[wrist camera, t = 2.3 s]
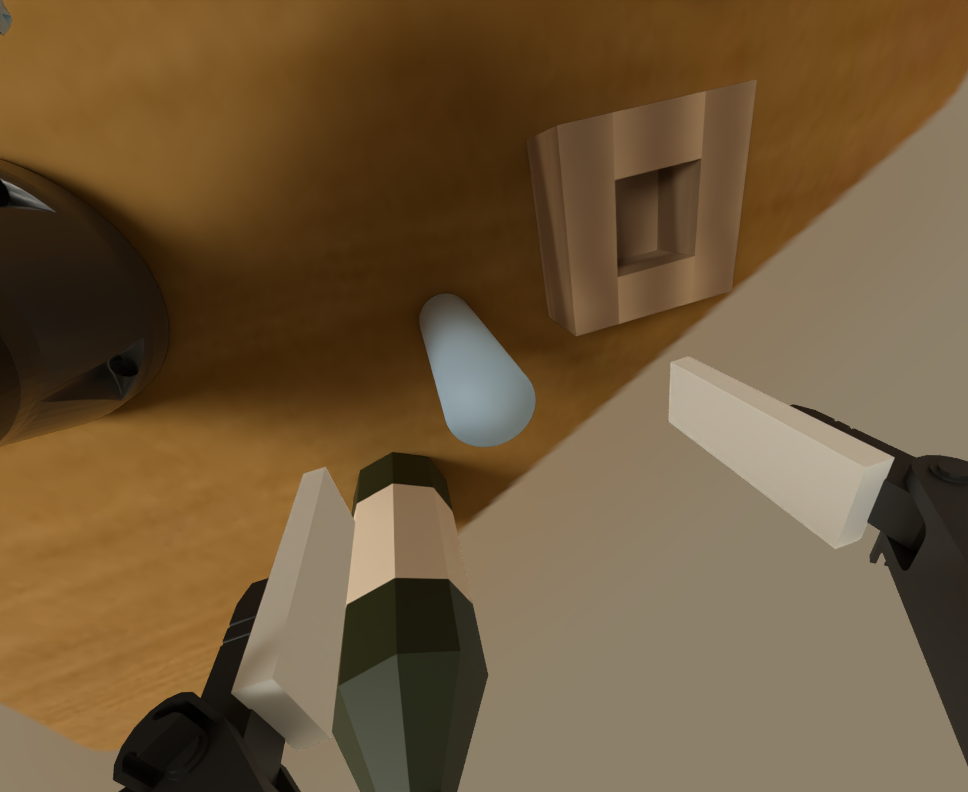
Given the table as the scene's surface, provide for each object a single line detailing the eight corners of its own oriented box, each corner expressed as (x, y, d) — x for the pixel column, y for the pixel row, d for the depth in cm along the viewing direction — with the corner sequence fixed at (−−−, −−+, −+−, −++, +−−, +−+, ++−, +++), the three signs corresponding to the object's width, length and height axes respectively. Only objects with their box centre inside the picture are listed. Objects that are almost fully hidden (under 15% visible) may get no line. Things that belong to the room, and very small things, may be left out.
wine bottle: (342, 461, 31) (121, 1715, 5) (440, 443, 33) (648, 1360, 7) (363, 532, 35) (299, 1456, 9) (450, 513, 37) (609, 1265, 11)
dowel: (427, 351, 29) (457, 458, 17) (412, 301, 27) (433, 380, 15) (476, 337, 29) (541, 431, 17) (465, 287, 27) (528, 352, 15)
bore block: (548, 317, 30) (576, 336, 25) (526, 140, 24) (556, 125, 20) (683, 279, 31) (731, 290, 27) (693, 101, 25) (756, 79, 21)
